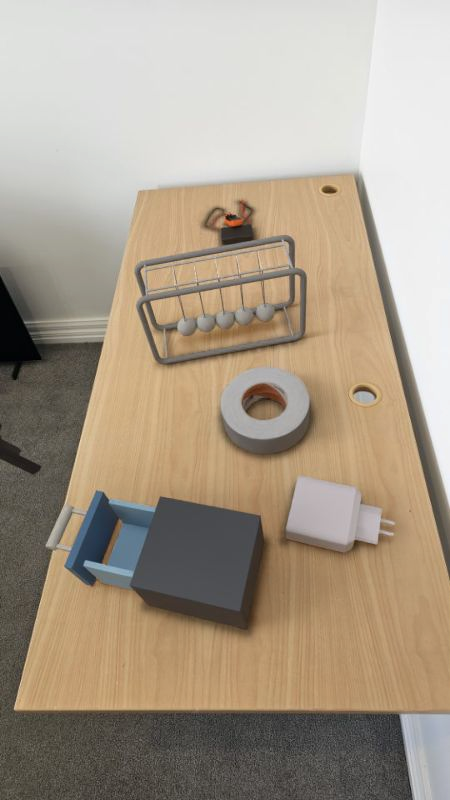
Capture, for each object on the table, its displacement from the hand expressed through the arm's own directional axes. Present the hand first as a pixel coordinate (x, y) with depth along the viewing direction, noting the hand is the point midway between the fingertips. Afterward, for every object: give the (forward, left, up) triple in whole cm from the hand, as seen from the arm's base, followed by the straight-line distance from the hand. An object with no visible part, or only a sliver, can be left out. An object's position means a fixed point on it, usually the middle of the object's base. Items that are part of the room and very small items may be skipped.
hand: (15, 514), depth 68 cm
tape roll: (+38, -16, -14) cm, 43 cm away
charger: (+27, -36, -14) cm, 47 cm away
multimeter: (+83, +22, -14) cm, 87 cm away
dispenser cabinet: (+10, -23, -14) cm, 29 cm away
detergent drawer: (+5, -11, -13) cm, 18 cm away
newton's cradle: (+51, +1, -14) cm, 53 cm away
